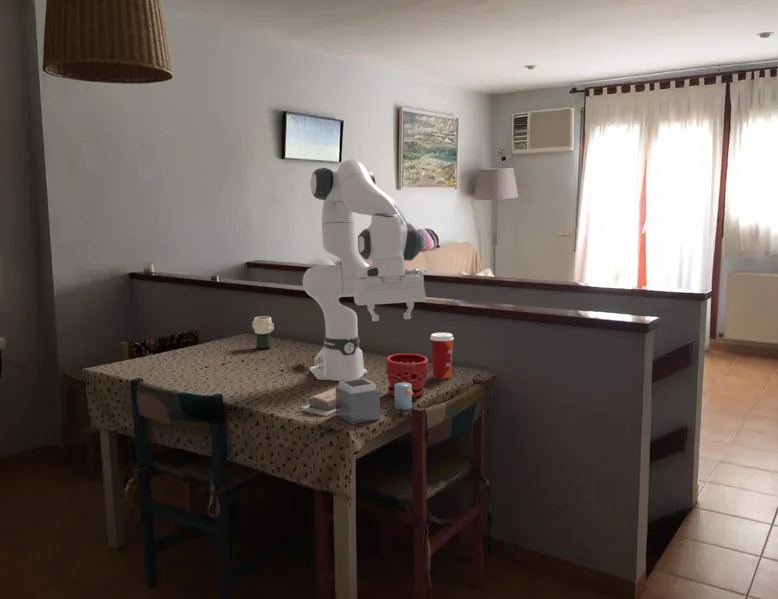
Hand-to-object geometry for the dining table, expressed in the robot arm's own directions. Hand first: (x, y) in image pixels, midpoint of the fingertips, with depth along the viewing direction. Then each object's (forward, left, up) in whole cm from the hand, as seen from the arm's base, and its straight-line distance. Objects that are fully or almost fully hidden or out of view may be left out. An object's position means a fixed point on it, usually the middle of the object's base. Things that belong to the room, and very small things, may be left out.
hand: (391, 320), depth 187 cm
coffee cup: (-29, +36, -28) cm, 54 cm away
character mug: (-106, -2, -28) cm, 110 cm away
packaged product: (-18, -10, -29) cm, 35 cm away
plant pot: (-17, +15, -28) cm, 36 cm away
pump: (-6, +7, -28) cm, 29 cm away
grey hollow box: (-5, -9, -28) cm, 30 cm away
